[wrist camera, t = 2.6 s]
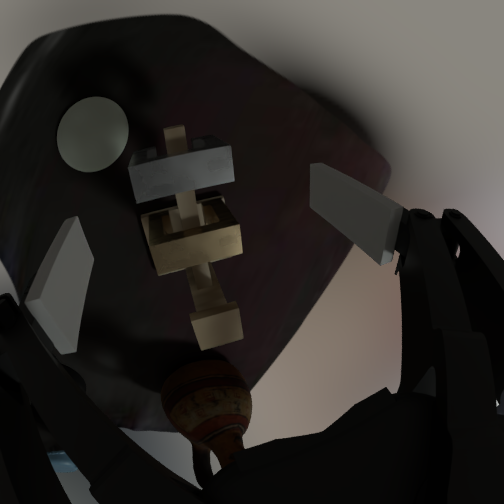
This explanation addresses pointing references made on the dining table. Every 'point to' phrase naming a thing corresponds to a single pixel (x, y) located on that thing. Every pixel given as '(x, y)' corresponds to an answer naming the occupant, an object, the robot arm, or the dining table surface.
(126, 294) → the dining table surface
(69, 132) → the felt pad
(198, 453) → the ceramic pitcher
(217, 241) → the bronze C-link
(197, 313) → the peg stand
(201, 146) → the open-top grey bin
